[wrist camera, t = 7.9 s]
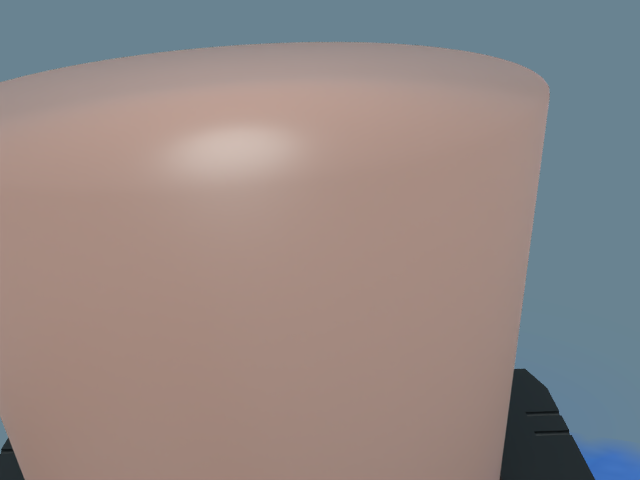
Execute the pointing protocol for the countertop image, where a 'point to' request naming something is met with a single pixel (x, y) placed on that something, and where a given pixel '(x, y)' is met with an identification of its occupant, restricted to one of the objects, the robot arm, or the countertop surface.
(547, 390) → the robot arm
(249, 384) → the pink cylinder
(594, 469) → the countertop surface
